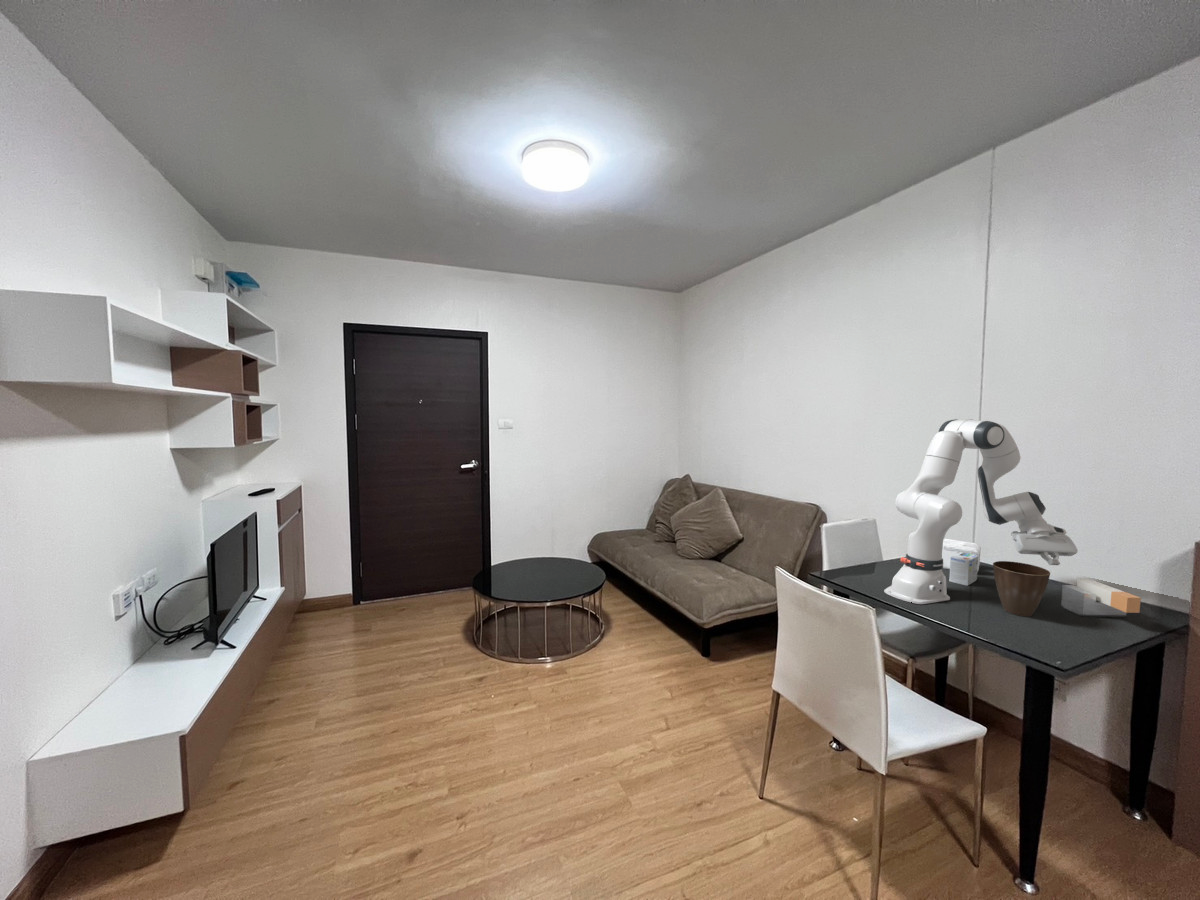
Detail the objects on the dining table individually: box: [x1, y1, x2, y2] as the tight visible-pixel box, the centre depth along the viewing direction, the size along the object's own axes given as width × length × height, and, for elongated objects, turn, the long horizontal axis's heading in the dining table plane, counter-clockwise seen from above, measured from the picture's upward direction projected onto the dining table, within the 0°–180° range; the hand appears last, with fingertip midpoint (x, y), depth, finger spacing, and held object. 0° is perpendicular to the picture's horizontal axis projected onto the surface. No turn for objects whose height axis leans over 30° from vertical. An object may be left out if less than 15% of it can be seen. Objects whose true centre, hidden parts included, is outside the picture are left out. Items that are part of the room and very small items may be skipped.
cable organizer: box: [942, 538, 982, 573], centre depth 208 cm, size 15×11×12 cm
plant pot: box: [992, 560, 1051, 617], centre depth 164 cm, size 15×15×16 cm
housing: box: [1060, 584, 1127, 618], centre depth 164 cm, size 8×14×8 cm, turn 87°
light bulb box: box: [948, 552, 978, 586], centre depth 194 cm, size 11×7×11 cm, turn 126°
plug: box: [1076, 578, 1142, 614], centre depth 159 cm, size 17×4×5 cm, turn 177°
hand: (1054, 564), depth 178 cm, fingers closed
